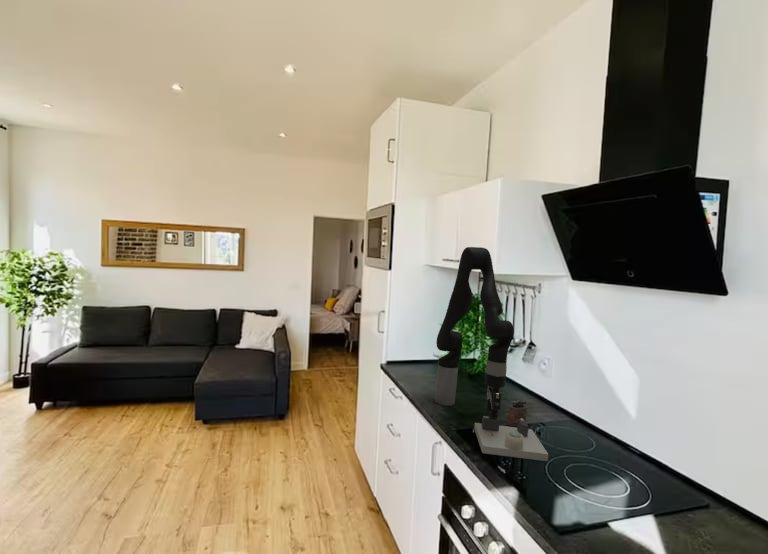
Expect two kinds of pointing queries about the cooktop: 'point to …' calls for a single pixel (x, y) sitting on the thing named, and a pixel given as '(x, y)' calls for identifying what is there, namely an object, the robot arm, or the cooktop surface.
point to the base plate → (504, 451)
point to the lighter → (517, 412)
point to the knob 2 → (522, 427)
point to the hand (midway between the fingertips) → (491, 414)
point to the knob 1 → (490, 423)
